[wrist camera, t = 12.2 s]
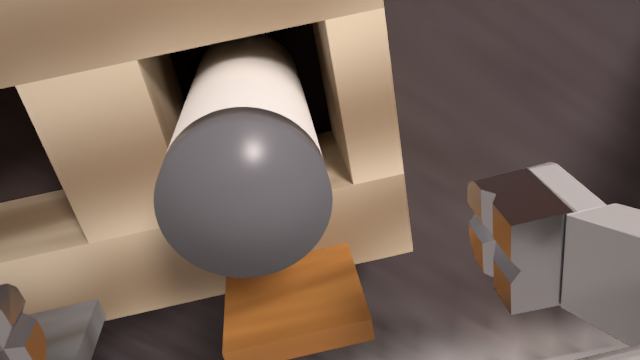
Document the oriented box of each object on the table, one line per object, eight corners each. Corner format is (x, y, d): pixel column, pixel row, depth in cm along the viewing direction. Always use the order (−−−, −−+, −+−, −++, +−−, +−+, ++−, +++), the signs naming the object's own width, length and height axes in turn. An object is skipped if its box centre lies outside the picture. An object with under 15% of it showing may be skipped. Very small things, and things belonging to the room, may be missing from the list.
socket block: (-187, -5, 18) (-539, 64, 10) (338, -113, 18) (411, -131, 10) (-17, 276, 23) (-153, 466, 15) (381, 188, 24) (450, 327, 16)
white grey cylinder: (183, 44, 20) (126, 144, 11) (286, 21, 20) (314, 103, 11) (212, 140, 22) (185, 293, 13) (307, 119, 22) (345, 257, 13)
